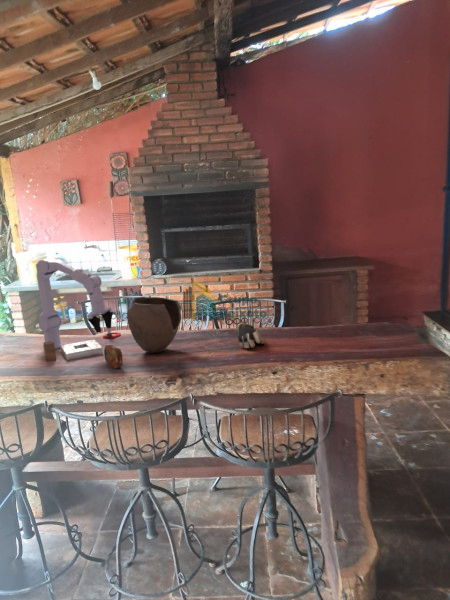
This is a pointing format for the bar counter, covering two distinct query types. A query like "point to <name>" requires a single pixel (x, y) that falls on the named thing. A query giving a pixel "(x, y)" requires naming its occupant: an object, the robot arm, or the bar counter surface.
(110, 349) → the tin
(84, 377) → the bar counter surface
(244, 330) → the glove
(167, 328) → the clay pot
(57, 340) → the robot arm
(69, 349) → the collar
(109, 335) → the tow hook
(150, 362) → the bar counter surface
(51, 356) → the pin
